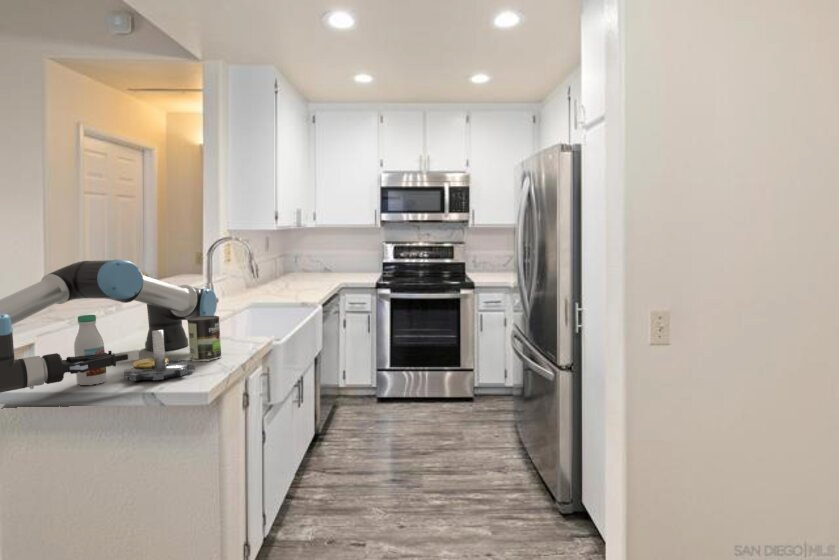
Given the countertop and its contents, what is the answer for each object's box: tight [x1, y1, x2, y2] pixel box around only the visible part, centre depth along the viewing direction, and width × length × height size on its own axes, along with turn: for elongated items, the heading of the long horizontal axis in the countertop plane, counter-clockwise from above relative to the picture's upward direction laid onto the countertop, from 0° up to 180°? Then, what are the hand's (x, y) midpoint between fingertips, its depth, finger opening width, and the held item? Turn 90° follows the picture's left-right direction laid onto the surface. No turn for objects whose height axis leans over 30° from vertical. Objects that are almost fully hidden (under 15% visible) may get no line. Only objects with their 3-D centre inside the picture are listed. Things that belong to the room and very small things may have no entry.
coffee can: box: [186, 315, 223, 362], centre depth 202 cm, size 10×10×14 cm
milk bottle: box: [73, 314, 108, 386], centre depth 173 cm, size 8×8×20 cm
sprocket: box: [123, 330, 195, 382], centre depth 180 cm, size 20×20×14 cm
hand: (137, 354), depth 170 cm, fingers closed
